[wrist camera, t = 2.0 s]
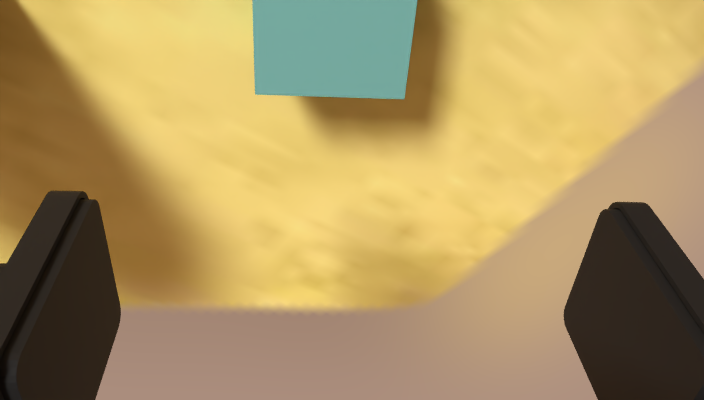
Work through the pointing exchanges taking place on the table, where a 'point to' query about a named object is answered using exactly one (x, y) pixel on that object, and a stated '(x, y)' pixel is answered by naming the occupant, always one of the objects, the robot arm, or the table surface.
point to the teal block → (333, 47)
